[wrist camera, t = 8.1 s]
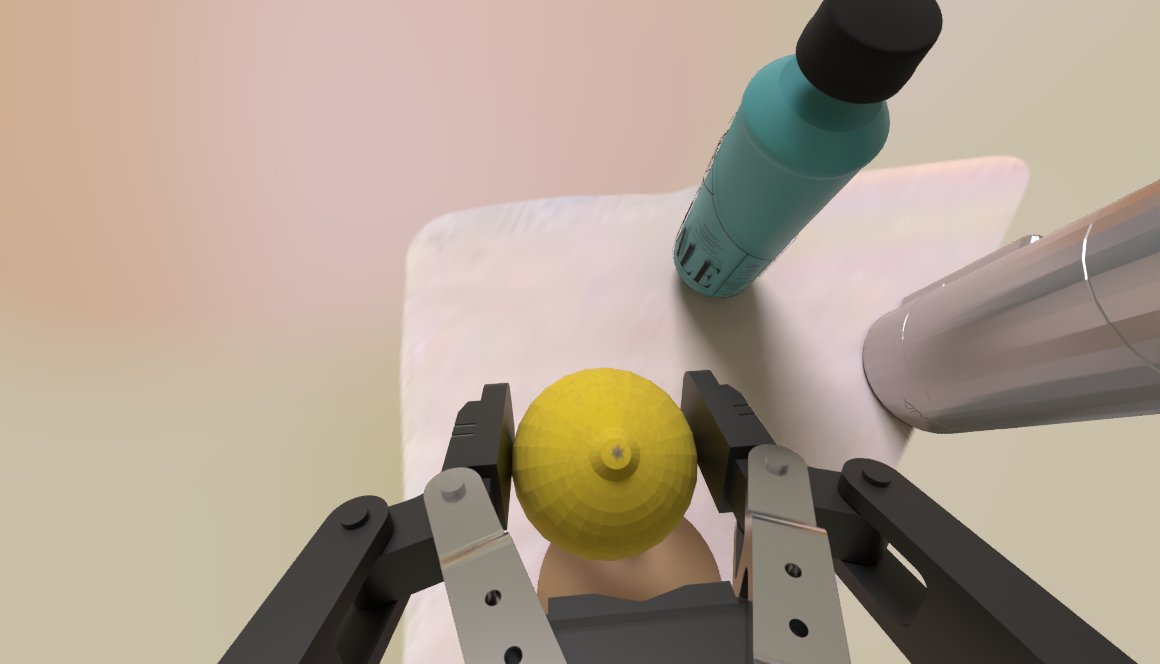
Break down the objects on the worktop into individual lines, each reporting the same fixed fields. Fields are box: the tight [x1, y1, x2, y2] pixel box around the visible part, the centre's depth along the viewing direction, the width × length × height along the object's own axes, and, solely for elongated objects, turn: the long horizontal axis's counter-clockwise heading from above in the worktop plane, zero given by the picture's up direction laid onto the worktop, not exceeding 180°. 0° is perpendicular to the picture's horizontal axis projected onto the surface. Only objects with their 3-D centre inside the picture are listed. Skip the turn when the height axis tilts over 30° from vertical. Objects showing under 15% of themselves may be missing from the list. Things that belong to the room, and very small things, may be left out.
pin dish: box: [537, 517, 722, 614], centre depth 25 cm, size 11×11×4 cm
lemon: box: [512, 368, 698, 561], centre depth 14 cm, size 6×6×8 cm
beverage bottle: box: [673, 0, 942, 297], centre depth 24 cm, size 6×7×20 cm
